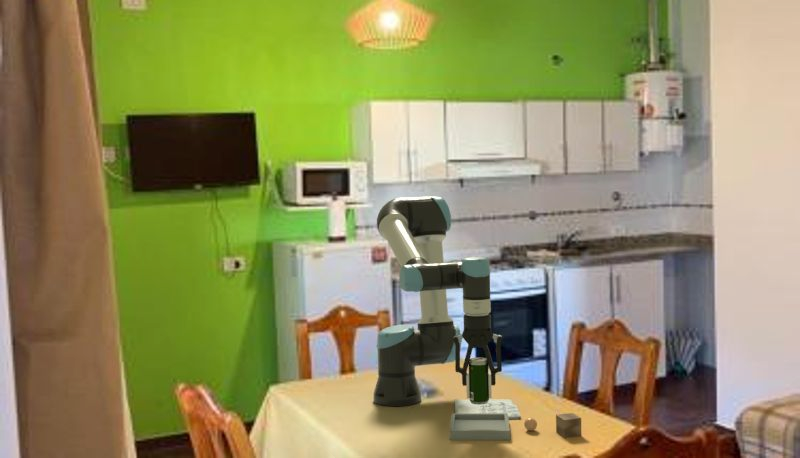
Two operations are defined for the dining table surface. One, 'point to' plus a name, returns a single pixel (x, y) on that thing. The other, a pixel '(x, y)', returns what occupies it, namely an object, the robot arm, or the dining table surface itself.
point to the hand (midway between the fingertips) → (479, 396)
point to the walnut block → (568, 425)
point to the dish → (479, 426)
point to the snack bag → (488, 407)
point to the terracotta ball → (530, 424)
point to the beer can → (478, 381)
